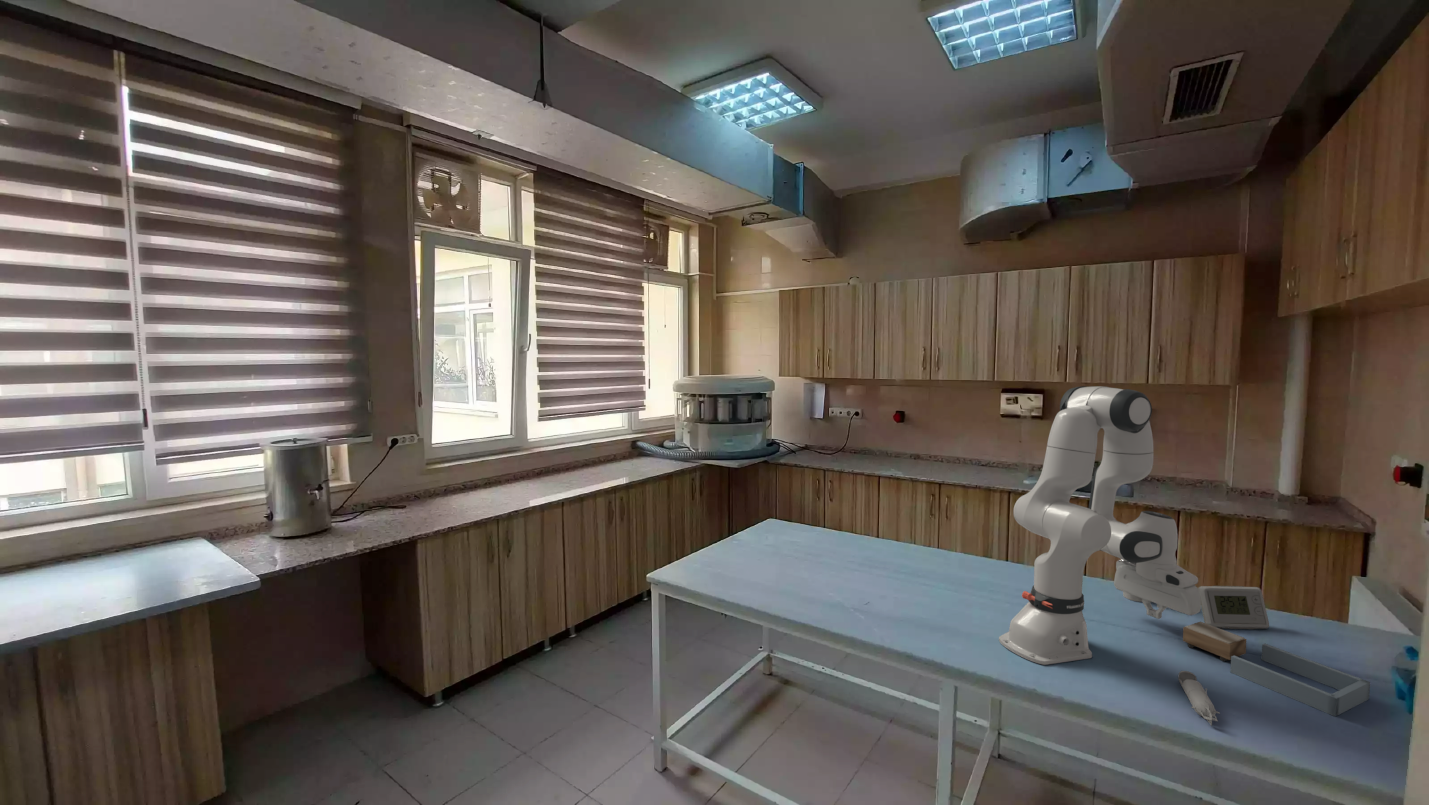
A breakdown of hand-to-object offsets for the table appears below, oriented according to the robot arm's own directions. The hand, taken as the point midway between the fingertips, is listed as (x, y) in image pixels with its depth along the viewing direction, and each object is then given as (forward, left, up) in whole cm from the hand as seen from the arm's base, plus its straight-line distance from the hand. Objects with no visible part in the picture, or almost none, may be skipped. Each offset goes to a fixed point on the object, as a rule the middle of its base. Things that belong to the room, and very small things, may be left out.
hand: (1154, 616), depth 155 cm
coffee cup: (+15, +14, -3) cm, 21 cm away
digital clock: (+21, -8, -4) cm, 22 cm away
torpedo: (-28, -25, -4) cm, 37 cm away
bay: (0, -30, -3) cm, 30 cm away
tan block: (0, -14, -3) cm, 14 cm away
